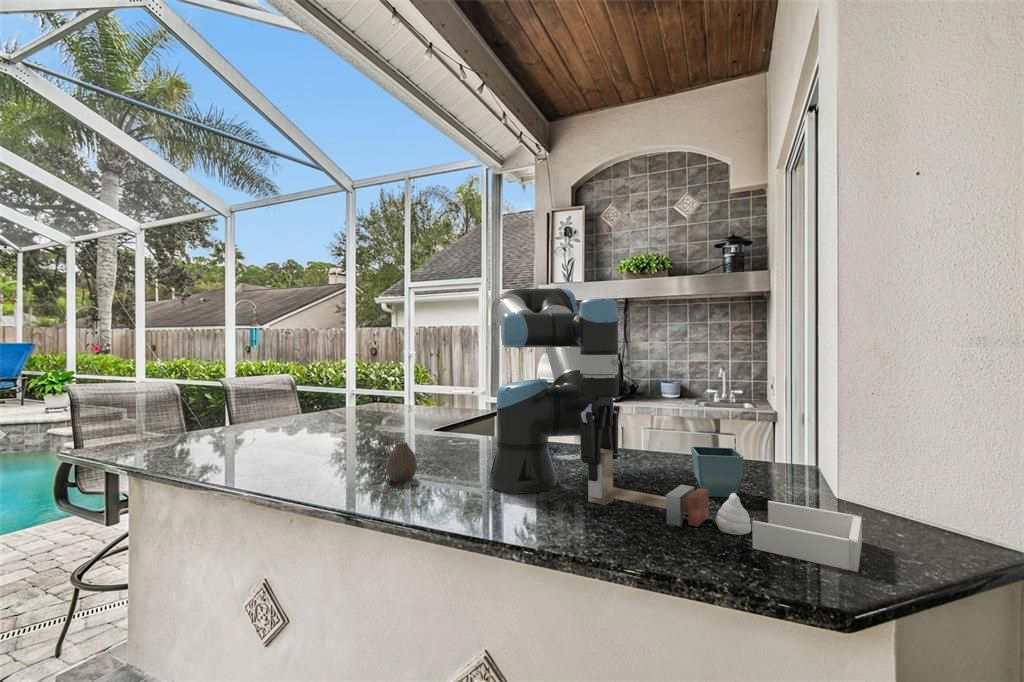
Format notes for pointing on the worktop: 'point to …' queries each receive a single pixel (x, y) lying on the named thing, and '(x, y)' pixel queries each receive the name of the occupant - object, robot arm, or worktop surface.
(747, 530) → the whipped cream swirl
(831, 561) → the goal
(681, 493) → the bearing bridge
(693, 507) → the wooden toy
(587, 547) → the worktop surface
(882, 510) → the worktop surface
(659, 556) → the worktop surface
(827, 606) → the worktop surface
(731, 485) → the flower pot
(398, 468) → the brown egg shape
